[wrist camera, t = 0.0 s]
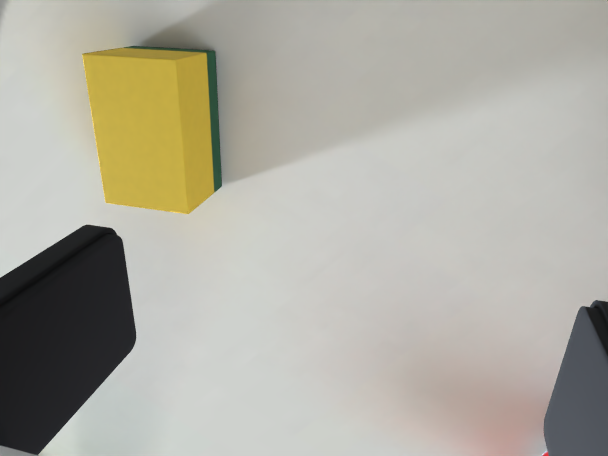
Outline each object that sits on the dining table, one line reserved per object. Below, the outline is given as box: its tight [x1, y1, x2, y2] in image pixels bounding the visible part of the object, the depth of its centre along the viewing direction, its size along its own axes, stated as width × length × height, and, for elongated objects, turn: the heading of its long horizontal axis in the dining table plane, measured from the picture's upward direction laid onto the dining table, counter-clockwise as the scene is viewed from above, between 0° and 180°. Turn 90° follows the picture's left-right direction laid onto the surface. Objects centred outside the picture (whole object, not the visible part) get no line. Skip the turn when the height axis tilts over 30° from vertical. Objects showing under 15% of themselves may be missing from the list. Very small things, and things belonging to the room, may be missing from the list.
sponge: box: [82, 46, 222, 214], centre depth 24 cm, size 7×4×4 cm, turn 178°
